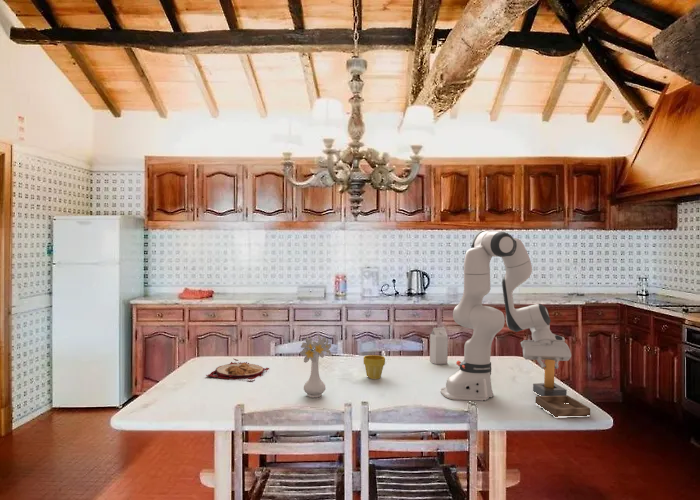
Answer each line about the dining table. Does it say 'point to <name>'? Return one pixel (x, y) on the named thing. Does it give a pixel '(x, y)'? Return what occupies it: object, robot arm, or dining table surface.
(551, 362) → the pin
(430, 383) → the dining table surface
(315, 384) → the flower vase
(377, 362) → the plant pot
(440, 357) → the milk carton
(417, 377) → the dining table surface
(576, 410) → the walnut tray
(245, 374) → the plate with food
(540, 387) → the bracket
